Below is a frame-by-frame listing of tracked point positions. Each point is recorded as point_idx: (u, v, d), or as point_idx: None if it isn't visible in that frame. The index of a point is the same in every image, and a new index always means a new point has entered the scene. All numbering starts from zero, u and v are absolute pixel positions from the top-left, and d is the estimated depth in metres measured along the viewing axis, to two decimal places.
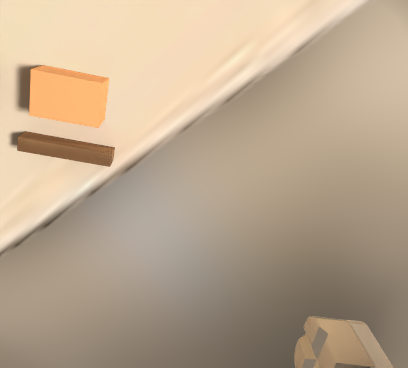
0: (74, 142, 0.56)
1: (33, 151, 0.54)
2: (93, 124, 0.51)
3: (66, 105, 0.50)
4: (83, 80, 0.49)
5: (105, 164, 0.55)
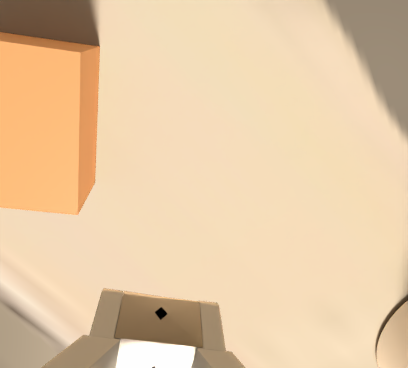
0: None
1: None
2: None
3: (6, 135, 0.20)
4: (76, 175, 0.21)
5: None
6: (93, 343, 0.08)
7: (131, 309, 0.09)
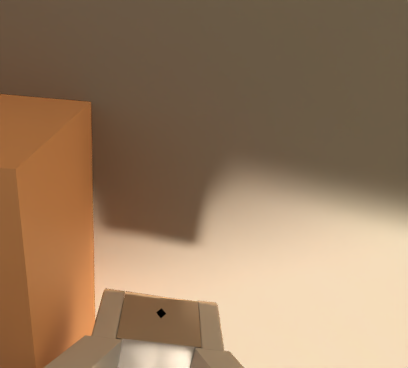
0: None
1: None
2: None
3: None
4: None
5: None
6: (95, 343, 0.08)
7: (133, 309, 0.09)
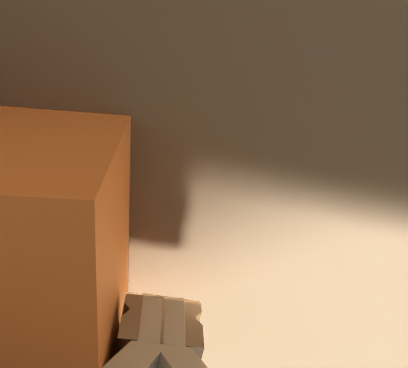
0: None
1: None
2: None
3: None
4: None
5: None
6: (142, 348, 0.08)
7: (173, 314, 0.09)
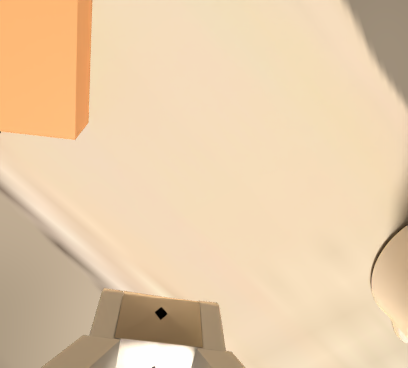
0: None
1: None
2: None
3: (16, 67, 0.24)
4: (73, 104, 0.25)
5: None
6: (93, 343, 0.08)
7: (131, 309, 0.09)
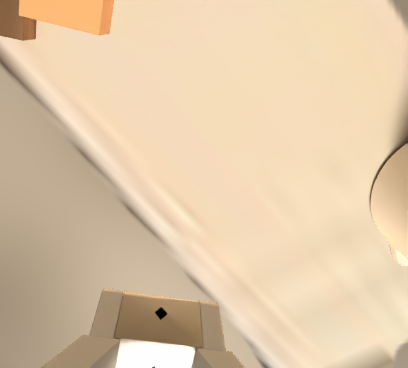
0: None
1: None
2: (23, 7, 0.28)
3: None
4: (101, 1, 0.29)
5: None
6: (93, 343, 0.08)
7: (131, 309, 0.09)
